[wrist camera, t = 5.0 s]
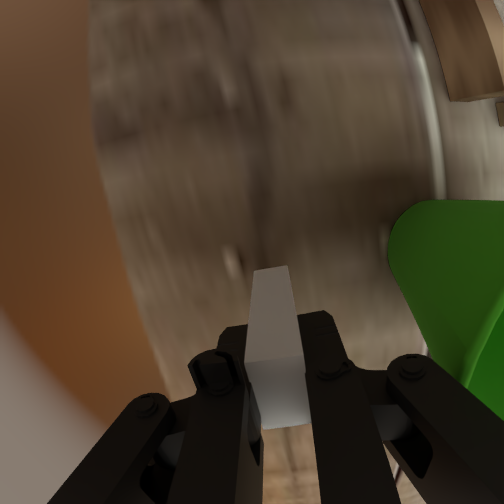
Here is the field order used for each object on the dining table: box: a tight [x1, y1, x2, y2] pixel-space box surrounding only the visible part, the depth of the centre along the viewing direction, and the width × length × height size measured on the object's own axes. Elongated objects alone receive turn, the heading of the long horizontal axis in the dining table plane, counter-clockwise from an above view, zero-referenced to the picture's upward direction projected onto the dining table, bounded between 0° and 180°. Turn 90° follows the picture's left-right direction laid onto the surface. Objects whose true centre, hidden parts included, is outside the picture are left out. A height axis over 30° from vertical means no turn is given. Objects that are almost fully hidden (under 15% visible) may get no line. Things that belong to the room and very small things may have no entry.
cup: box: [388, 200, 504, 421], centre depth 11 cm, size 9×9×11 cm
